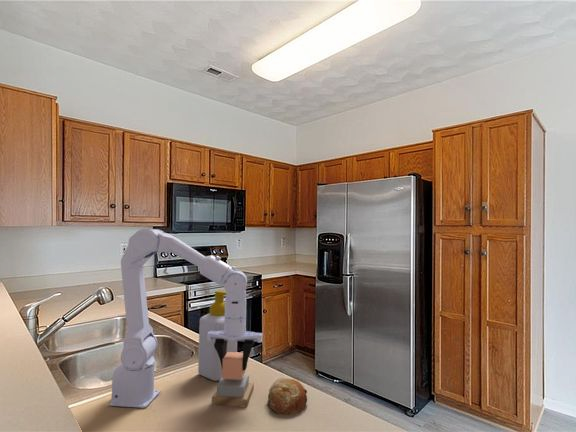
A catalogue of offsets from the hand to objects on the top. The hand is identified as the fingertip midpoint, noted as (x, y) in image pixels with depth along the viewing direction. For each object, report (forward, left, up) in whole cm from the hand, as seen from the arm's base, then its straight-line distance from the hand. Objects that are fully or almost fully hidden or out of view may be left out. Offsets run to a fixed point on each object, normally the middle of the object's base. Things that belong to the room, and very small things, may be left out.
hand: (234, 368), depth 87 cm
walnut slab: (0, 0, -8) cm, 8 cm away
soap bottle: (-8, +13, -8) cm, 17 cm away
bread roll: (+14, -2, -8) cm, 17 cm away
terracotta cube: (0, 0, -2) cm, 2 cm away
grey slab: (0, 0, -6) cm, 6 cm away
